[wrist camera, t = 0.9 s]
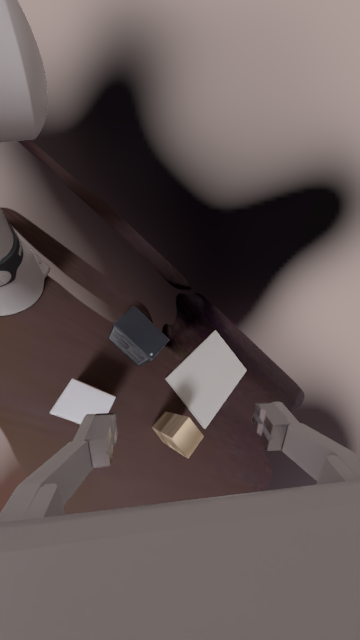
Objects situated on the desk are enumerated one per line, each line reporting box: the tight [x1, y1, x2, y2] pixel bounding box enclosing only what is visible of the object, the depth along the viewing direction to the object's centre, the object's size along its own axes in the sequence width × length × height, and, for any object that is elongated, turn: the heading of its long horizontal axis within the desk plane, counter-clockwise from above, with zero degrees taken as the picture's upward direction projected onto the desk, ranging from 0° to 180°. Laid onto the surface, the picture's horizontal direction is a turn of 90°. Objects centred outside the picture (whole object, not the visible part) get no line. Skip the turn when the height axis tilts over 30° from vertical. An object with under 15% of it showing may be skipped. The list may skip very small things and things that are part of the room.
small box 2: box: [108, 306, 169, 367], centre depth 42 cm, size 11×6×10 cm, turn 54°
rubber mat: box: [165, 330, 247, 429], centre depth 52 cm, size 16×22×1 cm
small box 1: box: [50, 378, 116, 425], centre depth 34 cm, size 8×6×10 cm
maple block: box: [152, 411, 204, 458], centre depth 38 cm, size 4×4×12 cm
